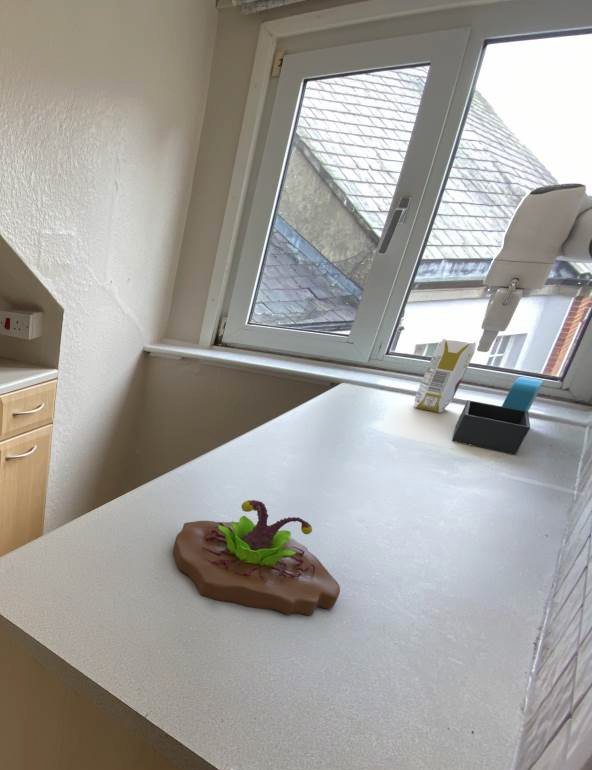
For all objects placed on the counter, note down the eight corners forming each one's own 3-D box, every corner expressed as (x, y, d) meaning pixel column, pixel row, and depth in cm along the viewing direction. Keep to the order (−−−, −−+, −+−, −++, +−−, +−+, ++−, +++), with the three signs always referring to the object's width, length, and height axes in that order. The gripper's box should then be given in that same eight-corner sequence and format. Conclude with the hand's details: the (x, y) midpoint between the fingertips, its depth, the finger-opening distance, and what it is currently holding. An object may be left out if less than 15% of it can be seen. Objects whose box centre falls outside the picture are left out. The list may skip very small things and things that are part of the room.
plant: (158, 527, 88) (173, 464, 83) (284, 537, 86) (307, 474, 81) (195, 607, 70) (217, 533, 65) (354, 623, 68) (390, 548, 64)
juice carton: (409, 407, 152) (439, 338, 144) (415, 401, 158) (444, 334, 149) (443, 414, 147) (476, 343, 139) (449, 408, 153) (480, 340, 144)
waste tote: (514, 437, 133) (528, 411, 131) (515, 455, 123) (530, 427, 120) (455, 424, 140) (467, 400, 137) (451, 440, 129) (464, 414, 126)
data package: (498, 419, 145) (520, 375, 140) (521, 424, 142) (545, 379, 137) (490, 428, 138) (513, 382, 133) (514, 434, 135) (538, 387, 130)
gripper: (539, 282, 98) (502, 358, 104) (536, 276, 112) (503, 344, 118) (493, 278, 102) (460, 352, 108) (495, 273, 116) (466, 339, 122)
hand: (482, 348), depth 113 cm, fingers open, 8 cm apart
